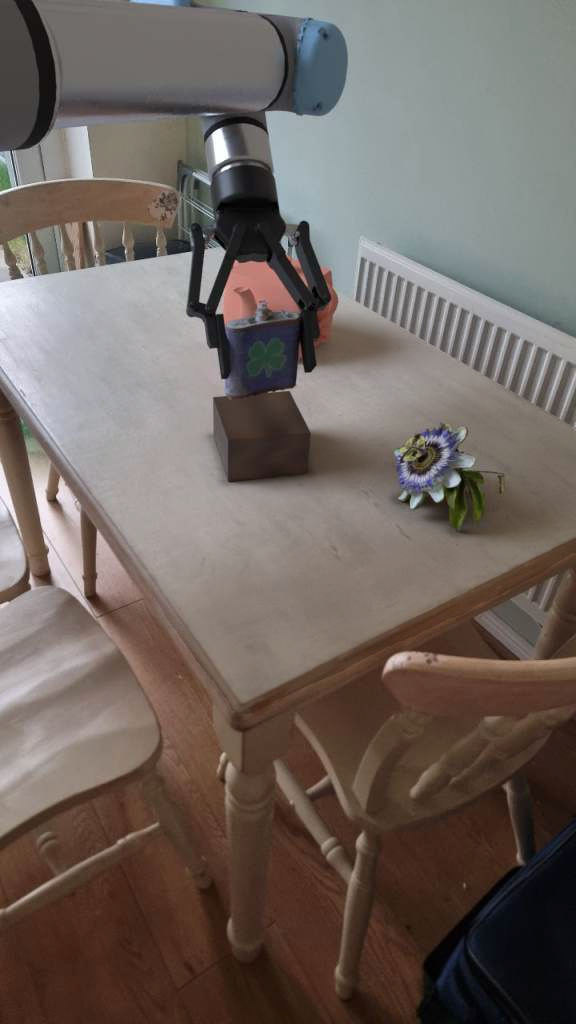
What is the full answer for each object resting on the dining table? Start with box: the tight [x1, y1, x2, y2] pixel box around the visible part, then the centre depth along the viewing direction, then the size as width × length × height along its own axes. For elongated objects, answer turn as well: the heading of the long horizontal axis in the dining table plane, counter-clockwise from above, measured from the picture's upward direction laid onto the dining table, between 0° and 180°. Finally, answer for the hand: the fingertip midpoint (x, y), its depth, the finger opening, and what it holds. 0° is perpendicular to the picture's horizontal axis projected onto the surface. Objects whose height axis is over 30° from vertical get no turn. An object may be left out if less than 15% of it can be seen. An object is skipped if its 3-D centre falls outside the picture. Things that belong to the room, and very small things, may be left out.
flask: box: [224, 300, 302, 399], centre depth 79 cm, size 9×3×11 cm, turn 117°
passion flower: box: [393, 421, 506, 532], centre depth 81 cm, size 11×11×12 cm
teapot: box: [221, 254, 339, 360], centre depth 107 cm, size 20×19×14 cm
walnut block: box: [212, 390, 312, 483], centre depth 86 cm, size 10×10×6 cm
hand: (268, 372), depth 78 cm, fingers closed on flask, 9 cm apart
